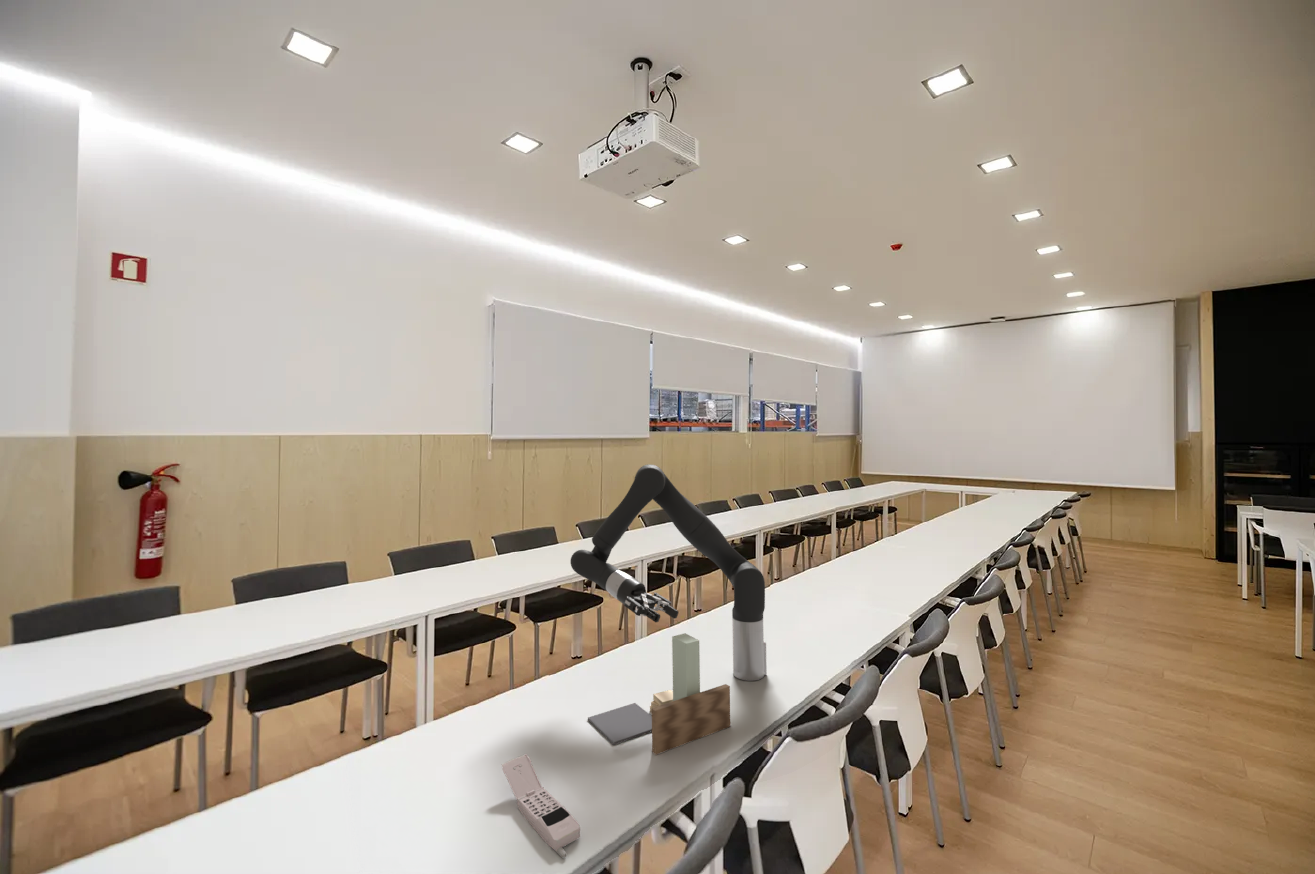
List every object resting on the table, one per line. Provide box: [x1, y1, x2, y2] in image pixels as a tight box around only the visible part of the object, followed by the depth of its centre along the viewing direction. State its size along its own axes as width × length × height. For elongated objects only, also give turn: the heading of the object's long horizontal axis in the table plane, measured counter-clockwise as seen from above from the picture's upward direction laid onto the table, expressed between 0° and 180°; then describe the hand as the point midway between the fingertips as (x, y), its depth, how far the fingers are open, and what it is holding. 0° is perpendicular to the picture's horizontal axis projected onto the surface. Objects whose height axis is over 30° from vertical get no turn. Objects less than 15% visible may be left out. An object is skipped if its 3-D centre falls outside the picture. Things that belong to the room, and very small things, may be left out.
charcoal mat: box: [587, 702, 652, 746], centre depth 140 cm, size 14×14×1 cm
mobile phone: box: [501, 753, 581, 859], centre depth 106 cm, size 6×6×25 cm
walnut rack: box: [651, 683, 731, 756], centre depth 135 cm, size 22×8×10 cm, turn 123°
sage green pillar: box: [671, 633, 701, 701], centre depth 138 cm, size 4×6×22 cm, turn 33°
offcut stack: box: [649, 689, 673, 713], centre depth 145 cm, size 7×7×4 cm
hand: (668, 617), depth 148 cm, fingers open, 8 cm apart
